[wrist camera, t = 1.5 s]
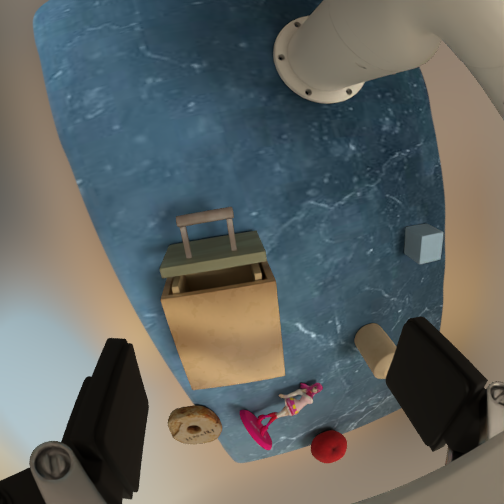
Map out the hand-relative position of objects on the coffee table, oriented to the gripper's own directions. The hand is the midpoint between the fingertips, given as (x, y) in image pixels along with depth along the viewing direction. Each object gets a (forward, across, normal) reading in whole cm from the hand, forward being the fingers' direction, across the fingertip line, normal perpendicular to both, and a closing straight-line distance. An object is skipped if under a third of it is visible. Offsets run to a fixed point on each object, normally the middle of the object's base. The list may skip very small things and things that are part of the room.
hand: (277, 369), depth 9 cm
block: (+30, -30, +5) cm, 42 cm away
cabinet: (+30, 0, +15) cm, 34 cm away
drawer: (+29, +1, +9) cm, 31 cm away
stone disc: (+29, +6, +47) cm, 56 cm away
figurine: (+26, -4, +41) cm, 49 cm away
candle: (+30, -24, +23) cm, 45 cm away
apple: (+24, -21, +50) cm, 60 cm away
